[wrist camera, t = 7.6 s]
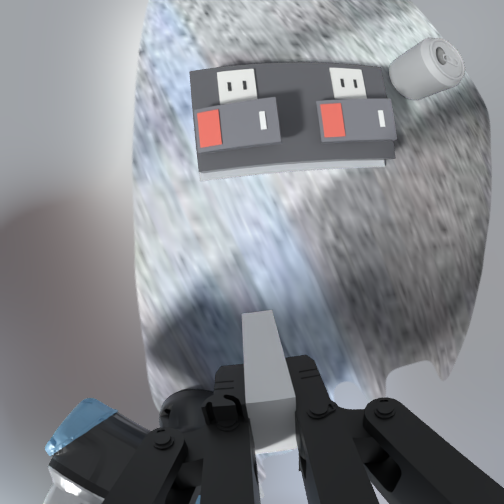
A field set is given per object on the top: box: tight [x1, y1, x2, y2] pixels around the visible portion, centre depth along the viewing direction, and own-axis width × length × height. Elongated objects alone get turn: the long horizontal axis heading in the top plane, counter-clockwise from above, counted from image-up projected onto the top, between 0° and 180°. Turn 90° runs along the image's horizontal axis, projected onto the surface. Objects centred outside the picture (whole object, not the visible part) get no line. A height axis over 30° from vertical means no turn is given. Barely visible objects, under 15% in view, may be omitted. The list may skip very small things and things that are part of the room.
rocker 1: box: [194, 97, 282, 154], centre depth 30 cm, size 5×9×2 cm, turn 96°
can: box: [389, 38, 465, 100], centre depth 30 cm, size 8×8×12 cm
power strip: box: [190, 62, 395, 181], centre depth 34 cm, size 15×26×5 cm, turn 96°
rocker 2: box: [316, 99, 397, 144], centre depth 30 cm, size 5×9×2 cm, turn 96°
